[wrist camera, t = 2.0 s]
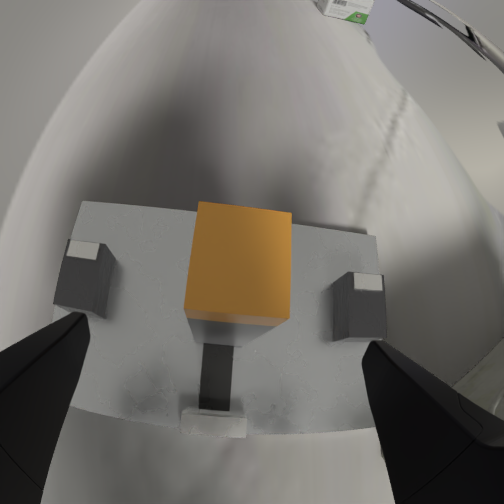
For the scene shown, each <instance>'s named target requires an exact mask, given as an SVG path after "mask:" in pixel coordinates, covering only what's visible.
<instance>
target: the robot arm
mask: <svg viewBox="0 0 504 504" xmlns="http://www.w3.org/2000/svg"><path fill="white" fill-rule="evenodd" d="M90 338H91V335H90V329H89V324H88V318H87V315H86V314H85V313H82V312H77V311H74V312H72V313H70V314H68V315H66V316H64V317H62V318H60V319H59V320H57V321H55V322H53V323H51V324H49V325H48V326H46V327H44V328H42V329H40V330H38V331H37V332H35V333H33V334H31V335H29V336H28V337H26V338H24V339H22V340H21V341H19V342H17V343H15V344H13V345H12V346H10V347H8V348H6V349H5V350H3V351H1V352H0V504H40V503H41V499H42V494H43V490H44V486H45V482H46V478H47V474H48V471H49V467H50V464H51V460H52V457H53V453H54V450H55V447H56V444H57V441H58V437H59V434H60V431H61V428H62V425H63V423H64V420H65V417H66V414H67V411H68V408H69V406H70V403H71V400H72V398H73V395H74V392H75V390H76V387H77V384H78V381H79V378H80V375H81V371H82V367H83V364H84V360H85V357H86V353H87V350H88V346H89V343H90ZM361 365H362V370H363V375H364V381H365V386H366V391H367V397H368V401H369V405H370V409H371V412H372V416H373V419H374V423H375V426H376V430H377V433H378V437H379V441H380V444H381V448H382V452H383V455H384V459H385V463H386V467H387V471H388V475H389V479H390V483H391V487H392V492H393V496H394V500H395V504H504V420H502V419H500V418H499V417H497V416H495V415H493V414H492V413H490V412H488V411H487V410H485V409H483V408H482V407H480V406H478V405H477V404H475V403H474V402H472V401H470V400H469V399H467V398H466V397H464V396H463V395H462V394H460V393H457V391H456V390H454V389H453V388H451V387H450V386H449V385H447V384H446V383H444V382H443V381H441V380H440V379H438V378H437V377H435V376H434V375H433V374H431V373H430V372H428V371H427V370H425V369H424V368H422V367H421V366H419V365H418V364H417V363H415V362H414V361H412V360H411V359H409V358H408V357H406V356H405V355H404V354H402V353H401V352H399V351H398V350H396V349H395V348H393V347H392V346H390V345H389V344H388V343H386V342H385V341H383V340H372V341H371V342H370V343H369V345H368V347H367V349H366V351H365V353H364V356H363V358H362V362H361Z"/></svg>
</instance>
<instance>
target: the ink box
mask: <svg viewBox="0 0 504 504" xmlns="http://www.w3.org/2000/svg"><path fill="white" fill-rule="evenodd" d="M374 1H375V0H318V3H317V8H318V9H319V10H320V12H321V13H322V14H323V15H325V16H330V17H335V18H340V19H344V20H348V21H352V22H356V23H360V24H365V22H366V20H367V17H368V15H369V13H370V10H371V8H372V6H373V3H374Z"/></svg>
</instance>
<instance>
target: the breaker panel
mask: <svg viewBox="0 0 504 504" xmlns="http://www.w3.org/2000/svg"><path fill="white" fill-rule="evenodd" d="M196 216H197V212H195V211H186V210H176V209H167V208H157V207H147V206H137V205H126V204H115V203H103V202H91V201H82V203H81V206H80V209H79V212H78V216H77V219H76V222H75V225H74V229H73V232H72V235H71V239H68V242H67V246H66V250H65V253H64V257H63V261H62V265H61V269H60V273H59V278H58V282H57V287H56V292H55V297H54V302H53V304H54V305H55V307H54V313H53V319H52V323H53V322H55V321H57V320H59V319H60V318H62V317H64V316H66V315H68V314H70V313H72V312H74V311H77V312H82V313H85V314H86V315H87V318H88V324H89V329H90V335H91V338H90V343H89V346H88V350H87V353H86V357H85V360H84V364H83V367H82V371H81V375H80V378H79V381H78V384H77V387H76V390H75V392H74V395H73V398H72V400H71V403H70V406H72V407H76V408H79V409H83V410H86V411H90V412H94V413H98V414H102V415H106V416H111V417H115V418H120V419H125V420H129V421H135V422H140V423H146V424H151V425H158V426H164V427H171V428H179V429H180V433H185V434H194V435H204V436H216V437H233V438H246V434H306V433H323V432H336V431H346V430H355V429H363V428H371V427H376V426H375V423H374V419H373V416H372V412H371V409H370V405H369V401H368V397H367V391H366V386H365V381H364V375H363V370H362V365H361V362H362V358H363V356H364V353H365V351H366V349H367V347H368V345H369V343H370V342H371V341H372V340H382V339H383V338H387V330H386V304H385V287H384V275H379V265H378V254H377V244H376V236H372V235H365V234H359V233H353V232H346V231H339V230H333V229H326V228H319V227H312V226H305V225H298V224H292V231H291V291H290V319H288V320H287V321H285V322H283V323H282V324H280V325H278V326H277V327H275V328H274V329H272V330H270V331H269V332H267V333H265V334H264V335H262V336H260V337H258V338H257V339H255V340H253V341H252V342H250V343H248V344H246V345H245V346H243V347H242V346H230V345H219V344H209V343H200V342H195V340H194V338H193V335H192V332H191V329H190V326H189V323H188V320H187V317H186V314H185V311H184V300H185V292H186V284H187V277H188V269H189V262H190V255H191V248H192V242H193V235H194V229H195V222H196Z"/></svg>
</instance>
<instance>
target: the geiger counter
mask: <svg viewBox="0 0 504 504" xmlns="http://www.w3.org/2000/svg"><path fill="white" fill-rule="evenodd" d="M451 388H453V389H454V390H456V391H457V393H460V394H462V395H463V396H464V397H466V398H467V399H469V400H470V401H472V402H474V403H475V404H477V405H478V406H480V407H482V408H483V409H485V410H487V411H488V412H490V413H492V414H493V415H495V416H497V417H499V418H500V419H502V420H504V338H503V339H502V340H501V341H500V342H499V343H498V344H497V345H496V346H495V347H494V348H493V349H492V350H491V351H490V352H489V353H488V354H487V355H486V356H485V357H484V358H483V359H482V360H481V361H480V362H479V363H478V364H477V365H476V366H475V367H474V368H473V369H472V370H471V371H470V372H468V373H467V374H466V375H465V376H464V377H463V378H462V379H461V380H460V381H458V382H457V383H456V384H455V385H454V386H453V387H451ZM381 449H382V448H381ZM382 457H383V459H384V455H383V452H382ZM384 461H385V459H384Z"/></svg>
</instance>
